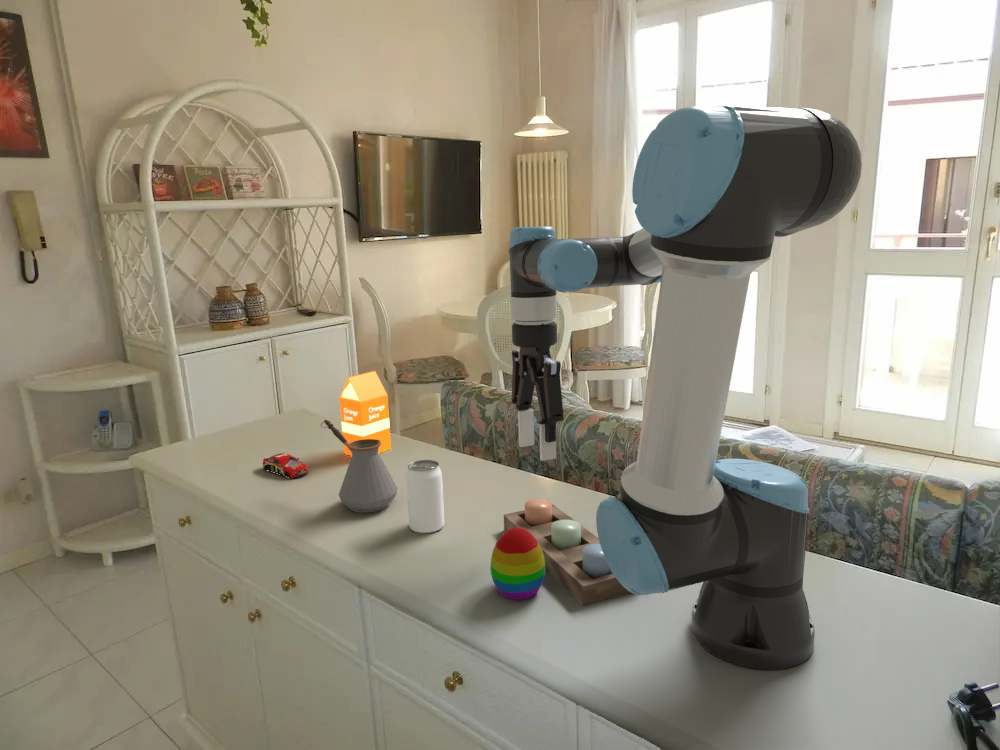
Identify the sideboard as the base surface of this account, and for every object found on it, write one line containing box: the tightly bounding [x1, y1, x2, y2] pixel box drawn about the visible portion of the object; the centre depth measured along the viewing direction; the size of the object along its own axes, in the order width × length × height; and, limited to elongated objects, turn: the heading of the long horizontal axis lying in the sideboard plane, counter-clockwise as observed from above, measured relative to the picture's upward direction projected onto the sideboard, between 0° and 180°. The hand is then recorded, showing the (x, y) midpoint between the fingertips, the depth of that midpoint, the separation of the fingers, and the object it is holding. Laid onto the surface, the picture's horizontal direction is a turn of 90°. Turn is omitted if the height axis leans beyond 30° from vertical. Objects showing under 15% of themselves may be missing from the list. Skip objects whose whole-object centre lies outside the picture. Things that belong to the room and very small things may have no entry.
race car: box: [262, 452, 310, 479], centre depth 157 cm, size 13×5×4 cm, turn 50°
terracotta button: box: [524, 498, 553, 527], centre depth 121 cm, size 5×5×4 cm
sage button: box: [551, 519, 582, 551], centre depth 112 cm, size 5×5×4 cm
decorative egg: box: [490, 527, 546, 600], centre depth 102 cm, size 8×8×10 cm
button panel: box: [503, 503, 631, 606], centre depth 112 cm, size 28×10×3 cm, turn 24°
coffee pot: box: [320, 419, 398, 513], centre depth 139 cm, size 21×12×15 cm, turn 43°
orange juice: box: [339, 370, 392, 455], centre depth 167 cm, size 8×9×20 cm
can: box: [405, 459, 445, 534], centre depth 125 cm, size 6×6×12 cm
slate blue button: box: [582, 544, 613, 579], centre depth 103 cm, size 5×5×4 cm
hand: (537, 452), depth 118 cm, fingers open, 8 cm apart
